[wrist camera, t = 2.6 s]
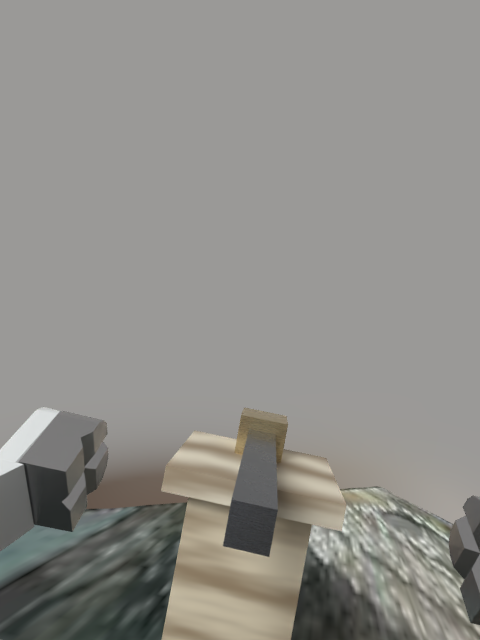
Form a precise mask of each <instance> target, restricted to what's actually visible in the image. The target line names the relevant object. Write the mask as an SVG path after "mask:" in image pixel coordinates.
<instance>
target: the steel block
mask: <svg viewBox="0 0 480 640" xmlns="http://www.w3.org/2000/svg"><path fill="white" fill-rule="evenodd" d="M287 427H288V422H287V417H286V416H283V415H278V414H273V413H268V412H264V411H259V410H254V409H249V408H244V410H243V412H242V415H241V420H240V426H239V431H238V436H237V441H236V446H235V452H234V453H237V454H241V455H242V459H241V463H240V467H239V471H238V475H237V479H236V483H235V487H234V492H233V496H232V500H231V505H230V510H229V516H228V521H227V526H226V532H225V537H224V542H223V546H224V547H228V548H233V549H237V550H241V551H246V552H250V553H254V554H259V555H263V556H267V557H269V555H270V550H271V545H272V539H273V534H274V528H275V523H276V517H277V512H278V496H277V463H276V462H279V463H281V459H282V454H283V448H284V443H285V437H286V432H287Z"/></svg>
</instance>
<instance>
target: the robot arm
mask: <svg viewBox="0 0 480 640" xmlns="http://www.w3.org/2000/svg"><path fill="white" fill-rule="evenodd" d="M106 435H107V423H106V422H105V421H103V420H99V419H95V418H91V417H86V416H82V415H78V414H73V413H69V412H65V411H63V412H62V411H58V410H54V409H50V408H46V407H42V408H40V409H38V410H36V411H35V412H34V413H33V414H32V415H31V416H30V417H29V418H28V420H27V421H26V422H25V423H24V424H23V425H22V426H21V427H20V428H19V429H18V431H17V432H16V433H15V434H14V435H13V436H12V437H11V438H10V439H9V440H8V441H7V443H6V444H5V445H4V446H3V447H2V448H1V449H0V551H2V550H3V549H4V548H6V547H7V546H8V545H10V544H11V543H13V542H14V541H15V540H17V539H18V538H20V537H21V536H22V535H24V534H25V533H26V532H28V531H29V530H31V529H32V528H33V527H34V524H35V525H40V526H45V527H50V528H55V529H60V530H65V531H70V532H73V530H74V528H75V526H76V525H77V523H78V521H79V519H80V518H81V516H82V514H83V512H84V511H85V509H86V507H87V495H88V494H89V493H91V492H93V491H94V490H96V489H97V487H98V486H99V484H100V482H101V480H102V478H103V475H104V472H105V469H106V466H107V460H108V448H107V446H106V445H105V444H104V442H103V440H104V438H105V437H106ZM463 509H464V511H465V514H466V516H464V517H462V518H460V519H458V520H456V521H455V523H454V525H453V527H452V529H451V531H450V538H449V550H450V556H451V560H452V563H453V567H454V568H455V569H456V570H457V571H458V573H459V574H460V575H461V576H462V577H463V578H464V581H463V583H462V585H461V587H460V590H461V593H462V597H463V600H464V603H465V606H466V609H467V613H468V616H469V619H470V622H471V623H474V624H478V625H480V497H478V496H471V497H470V498H468V499H467V501H466V502H465V504H464V506H463Z"/></svg>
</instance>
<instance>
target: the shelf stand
mask: <svg viewBox="0 0 480 640" xmlns="http://www.w3.org/2000/svg"><path fill="white" fill-rule="evenodd" d="M236 441H237V439H232V438H228V437H223V436H218V435H213V434H208V433H204V432H198V431H194V432H193V433H192V435H191V436H190V437H189V438H188V439H187V440H186V442H185V443H184V444H183V445H182V447H181V448H180V449H179V450H178V452H177V453H176V454H175V455H174V456H173V458H172V459H171V460H170V461H169V463H168V464H167V465H166V469H165V474H164V479H163V485H162V490H161V491H164V492H168V493H173V494H177V495H182V496H186V497H189V498H188V503H187V508H186V514H185V519H184V524H183V529H182V535H181V540H180V545H179V551H178V556H177V561H176V567H175V572H174V577H173V583H172V588H171V593H170V598H169V604H168V609H167V614H166V620H165V625H164V630H163V636H162V640H291V635H292V629H293V624H294V619H295V613H296V608H297V602H298V597H299V591H300V586H301V580H302V575H303V569H304V564H305V558H306V553H307V547H308V542H309V536H310V531H311V525H316V526H321V527H325V528H329V529H334V530H338V531H342V526H343V520H344V515H345V509H346V503H345V501H344V498H343V496H342V494H341V491H340V489H339V487H338V484H337V482H336V480H335V478H334V475H333V473H332V471H331V468H330V466H329V464H328V461H327V459H326V458H323V457H318V456H313V455H309V454H304V453H299V452H294V451H289V450H285V449H283V454H282V459H281V463H279V462H276V463H277V496H278V512H277V517H276V523H275V528H274V534H273V539H272V545H271V550H270V555H269V557H267V556H263V555H259V554H254V553H250V552H246V551H241V550H237V549H233V548H228V547H224V546H223V542H224V537H225V532H226V526H227V521H228V516H229V510H230V505H231V500H232V496H233V492H234V487H235V483H236V479H237V475H238V471H239V467H240V463H241V459H242V455H241V454H237V453H234V452H235V446H236Z"/></svg>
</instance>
